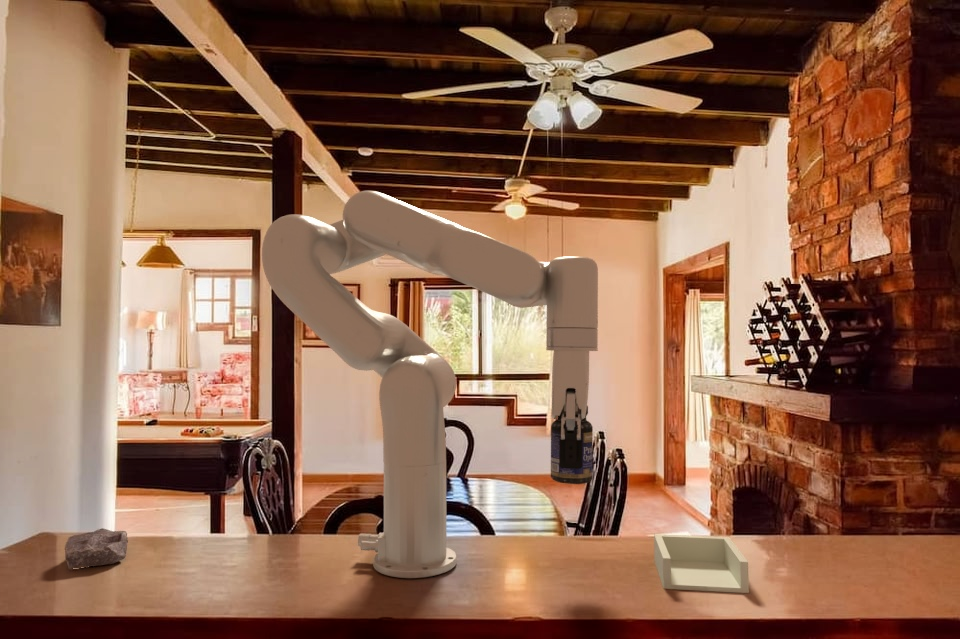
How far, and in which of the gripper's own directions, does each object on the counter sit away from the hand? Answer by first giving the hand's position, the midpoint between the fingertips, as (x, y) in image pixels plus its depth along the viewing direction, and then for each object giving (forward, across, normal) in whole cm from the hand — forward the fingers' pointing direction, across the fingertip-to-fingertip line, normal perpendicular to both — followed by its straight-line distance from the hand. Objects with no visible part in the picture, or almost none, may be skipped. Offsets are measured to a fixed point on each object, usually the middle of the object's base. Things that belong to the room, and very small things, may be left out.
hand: (571, 462), depth 94 cm
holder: (+16, -1, +18) cm, 24 cm away
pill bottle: (+3, 0, 0) cm, 3 cm away
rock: (+18, +5, -73) cm, 75 cm away
